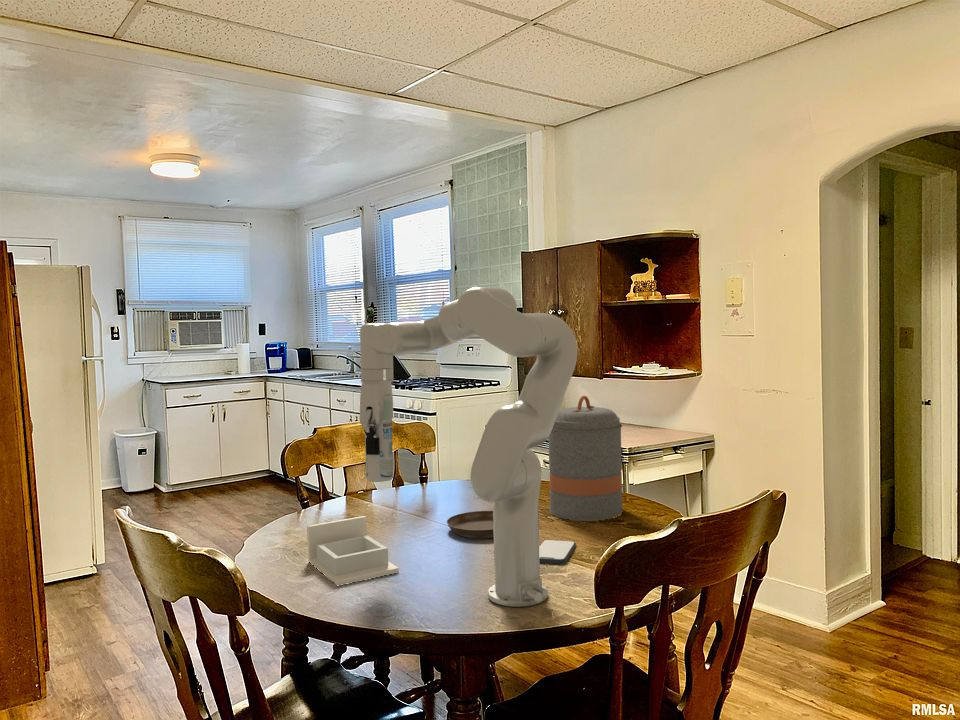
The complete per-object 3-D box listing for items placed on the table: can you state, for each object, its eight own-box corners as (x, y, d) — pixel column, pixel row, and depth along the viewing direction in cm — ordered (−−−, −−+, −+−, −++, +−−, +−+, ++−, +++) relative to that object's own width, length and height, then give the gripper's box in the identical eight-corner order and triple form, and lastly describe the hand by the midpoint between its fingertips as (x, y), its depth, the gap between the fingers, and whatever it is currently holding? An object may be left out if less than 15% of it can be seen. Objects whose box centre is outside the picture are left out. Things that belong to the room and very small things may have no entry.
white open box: (398, 572, 170) (397, 534, 169) (337, 586, 162) (335, 546, 162) (365, 551, 187) (364, 515, 187) (308, 562, 179) (306, 525, 179)
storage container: (607, 525, 204) (604, 401, 202) (536, 515, 216) (533, 398, 214) (634, 506, 223) (632, 393, 221) (567, 499, 235) (565, 391, 233)
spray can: (385, 482, 168) (383, 396, 167) (360, 481, 170) (358, 395, 169) (398, 476, 174) (396, 393, 173) (373, 475, 176) (371, 392, 175)
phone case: (543, 545, 190) (528, 563, 175) (543, 539, 190) (528, 557, 175) (577, 547, 187) (565, 566, 172) (577, 541, 187) (565, 560, 172)
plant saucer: (437, 526, 209) (437, 514, 209) (503, 517, 217) (503, 506, 216) (461, 546, 190) (460, 533, 190) (533, 535, 197) (532, 523, 197)
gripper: (376, 372, 180) (378, 444, 181) (346, 379, 163) (348, 458, 164) (405, 373, 178) (406, 445, 179) (378, 379, 161) (379, 459, 162)
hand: (378, 450), depth 172 cm, fingers closed on spray can, 6 cm apart
